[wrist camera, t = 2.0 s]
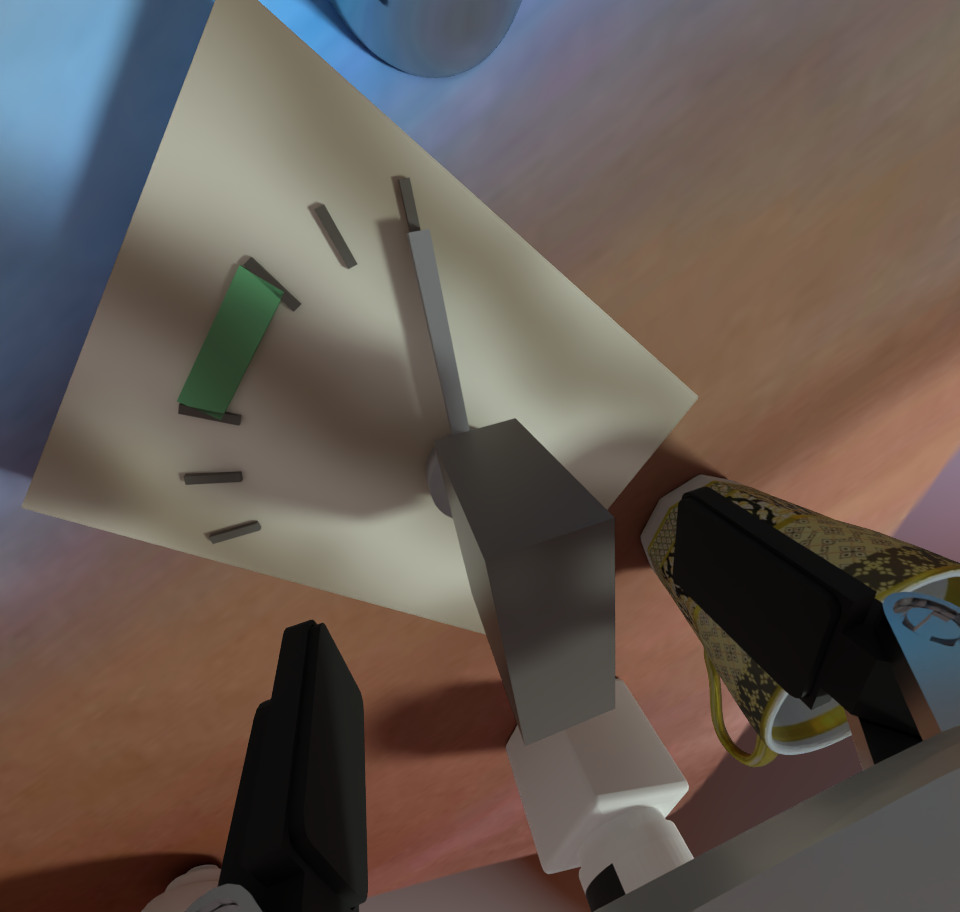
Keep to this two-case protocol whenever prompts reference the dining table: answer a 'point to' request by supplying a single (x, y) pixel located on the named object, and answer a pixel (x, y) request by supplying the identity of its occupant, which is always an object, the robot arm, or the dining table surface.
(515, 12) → the beer glass
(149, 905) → the white air blower bulb
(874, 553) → the ceramic cup
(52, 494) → the tuner board
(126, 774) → the dining table surface
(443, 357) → the grey block on stem
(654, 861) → the medicine bottle
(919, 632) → the robot arm
